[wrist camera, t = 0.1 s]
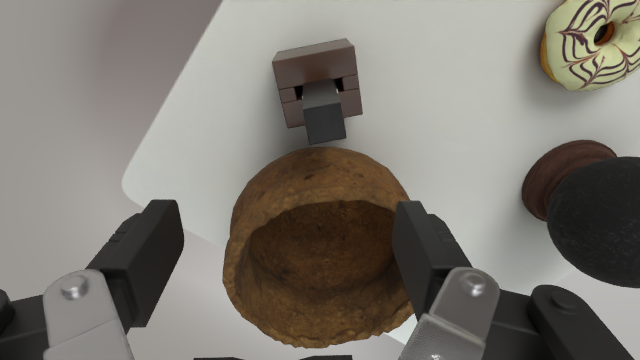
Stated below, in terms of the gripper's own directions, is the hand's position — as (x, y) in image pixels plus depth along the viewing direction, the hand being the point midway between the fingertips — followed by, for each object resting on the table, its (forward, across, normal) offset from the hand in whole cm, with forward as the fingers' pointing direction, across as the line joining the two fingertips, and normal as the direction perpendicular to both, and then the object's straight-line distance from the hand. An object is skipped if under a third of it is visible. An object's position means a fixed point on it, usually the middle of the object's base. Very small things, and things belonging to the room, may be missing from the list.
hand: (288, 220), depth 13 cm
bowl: (+26, -3, +14) cm, 29 cm away
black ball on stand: (+26, -33, +12) cm, 44 cm away
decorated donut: (+26, -29, -5) cm, 39 cm away
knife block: (+26, -2, 0) cm, 26 cm away
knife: (+26, -2, 0) cm, 26 cm away
